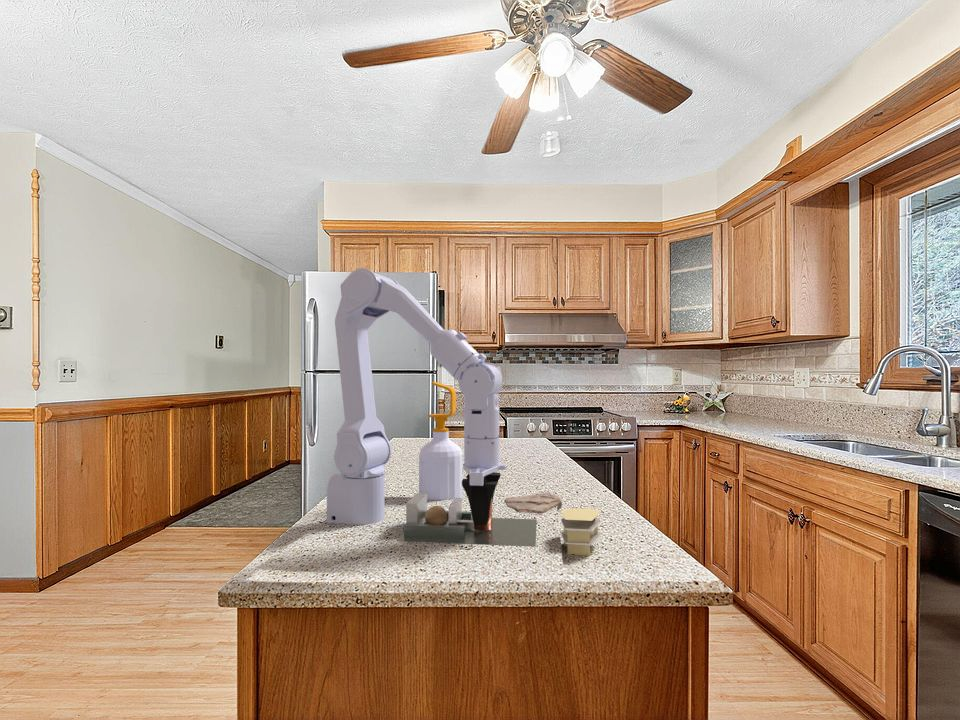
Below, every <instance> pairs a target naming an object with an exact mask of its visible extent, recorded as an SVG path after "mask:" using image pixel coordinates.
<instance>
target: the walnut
mask: <svg viewBox="0 0 960 720" xmlns="http://www.w3.org/2000/svg"><path fill="white" fill-rule="evenodd" d="M446 511H447V510H446V509H445V508H443V506H440V505H433V506H430V507H429V508H427V512H426V514H425V520H426V523H427V524H431V525H444V524H445V523H446V521H447V513H446Z"/></svg>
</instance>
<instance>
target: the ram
mask: <svg viewBox="0 0 960 720" xmlns="http://www.w3.org/2000/svg"><path fill="white" fill-rule="evenodd" d="M462 503H463V497H462V498H454V499H452V500H451V503H450V504H449V506H448V511H449V525H460V526H465V528H468V529H475V530H479V531H487V530H491V529H492V518H493V502H492V500H491V505H490V513H489V519H488V522H487V525H474V523H473V520H460V518H461V517H462V512H463V504H462Z"/></svg>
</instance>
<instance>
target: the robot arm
mask: <svg viewBox="0 0 960 720" xmlns="http://www.w3.org/2000/svg"><path fill="white" fill-rule="evenodd" d="M340 293H341V294H340V295H341V298H340V302H339V305H338V309H337V311H336V314H335V318H334V319H335V320H334V327H335V336H336V345H337V356H338V366H339V373H340V374H339V377H340V384H341V385H340V386H341V395H342V403H343V414H344V421H343V423H342V425H341V426H340V428H339V429H338V431H337V433H336V437H337V438H336V439H337V440H336V441H337V443H336V447H335V450H334V455H333V459H334V463H335V465H336V468H337V470H338V471H339V472H340V473H334V474H333V475H331V477H330V478H329V480H328V483H327V487H326V523H328V524H345V525H354V526H364V525H365V526H367V525H373V524H377V523H381V522H382V521H384V520H385V478H386V477H385V472H386V464H388V462H389V460H390V458H391V456H392V446H391V442H390V441H389V439H388V437H387V435H386V431H385V426H384V424H383V423H382V421H381V420H380V419H379V418H378V416H377V409H376V400H375V391H374V390H375V389H374V381H373V380H374V379H373V372H372V362H371V360H372V359H371V353H370V352H371V351H370V344H369V343H370V342H369V333H368V330H369V329H370V327H371V326H372V325H373V324H374V323H375V322H376V321H377V320H378V319H379V318H381V317H383V316H384V315H387V314H388V313H389V312H392V313H396V314H398V315H399V316H400V317H401V318H402V319H403V320H404V321H406V323H407V324H409V325H410V326H411V327H412V328H413V329H414V330H415V331H416V332H417V333H418V334H419V335H420V336H422V337H423V339H425V340H426V341H427V342H428V343H429V351H430V355H431V356H432V357H433V358H434V359H435V360H436V361H437V362H438V363H439V364H440V365H441V366H442V368H443V369H445V370H446V372H448V373H449V374H450V375H451V377H452V378H453V379H454V380H455V381H458V383H457V384H458V387H459V390H460V392H461V394H462V395H463V397H464V408H463V409H464V410H463V411H464V412H463V424H464V425H463V426H464V427H463V428H464V429H463V433H464V434H463V435H464V437H463V440H464V441H463V449H464V450H463V458H464V459H463V463H462V470H464V472H465V473H467V475H466V476H465V477H466V478H462V489H463V491H465V494H466V497H467V499H468V500H467V501H468V504H469V507H470V512H471V514H472V519H473V523H474V525H487V522H488V519H489V513H490V505H491V500H492V503H494V502H493V501H494V494H495V491H496V488H497V486H498V483H499V480H500V478H501V474H502V473H500V472H498V471H500V470H503V471H506V469H508V467H507V463H501V462H500V407H499V406H500V400H499V399H500V398H499V397H500V394H499V393H500V391H501V389H502V387H503V383H504V378H503V374H502V372H501V370H500V369H499V368H498V366H497V365H496V364H494V363H492V362H485V360H487V356H486V355H485V354H484V353H479V352H478V351H477V350H476V349H474V347H473V346H471V344H470V343H469V342H468V341H467V338H468V336H467V335H466V334H465V333H464V332H461V331H458V332H457V331H456V330H455V329H444V328H443V327H442V326H441V325H440V324H439V322H437V321H436V320H435V318H434V317H433V316H432V315H431V314H430V313H429V312H428V311H427V310H426V309H425V307H423V305H422V304H421V303H420V302H419V301H418V300H417V299H416V298H415V297H414V296H413V295H412V294H411V293H410V291H409V290H408V289H407V288H405V287H404V286H402V284H401V285H400V283H399V282H398V281H397V280H396V279H394V278H393V277H390V276H385V275H382V274H378V273H376V272H373V271H372V270H370V269H368V268H365V267H364V268H358V269H355V270H353V271H352V272H350V274H348V275H347V277H346V278H345V279H344V280H343V282H342V283H341V284H340Z"/></svg>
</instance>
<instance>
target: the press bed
mask: <svg viewBox="0 0 960 720" xmlns="http://www.w3.org/2000/svg"><path fill="white" fill-rule="evenodd" d="M427 510H428V499H427V493H419V492H416V493H415V494H414V495H413V496H412V497H411V498H410V499H409V500H408V501H407V502H406V503H405V511H406V512H405V513H406V514H405V518H406V519H405V521H406V523H405V524H404V525H403V532H402V533H401V535H400V536H399V538H397V539H396V542H404V543H405V542H407V543H408V542H410V543H431V544H432V543H433V544H434V543H436V544H437V543H439V544H459V545H460V544H462V545H463V544H464V545H484V546H485V545H487V546H508V547H509V546H512V547H516V546H517V547H535V548H536V547H537V542H536V541H537V525H538V524H537V521H538V520H537V518H536V519H535V518H533V519H532V518H511V517H510V518H508V517H507V518H505V517H503V518H502V517H492V529H491V530H487V531H479V530H475V529H468V528H465V526H460V525H449V510H445V511H446V513H447V521H446V523H445V524H444V525H431V524H427V523H426V520H425V514H426V512H427ZM460 520H473V519H472V514H471V511H462V517H461V518H460Z"/></svg>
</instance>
